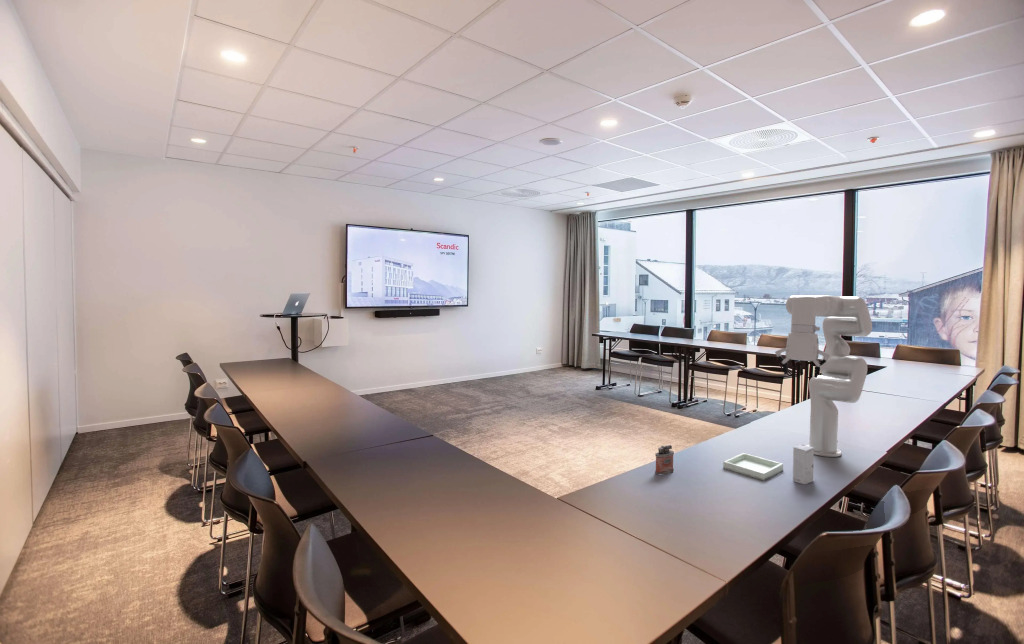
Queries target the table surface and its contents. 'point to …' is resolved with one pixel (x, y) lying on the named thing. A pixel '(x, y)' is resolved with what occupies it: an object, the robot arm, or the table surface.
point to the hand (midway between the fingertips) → (800, 375)
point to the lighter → (664, 460)
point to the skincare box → (803, 464)
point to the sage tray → (753, 466)
